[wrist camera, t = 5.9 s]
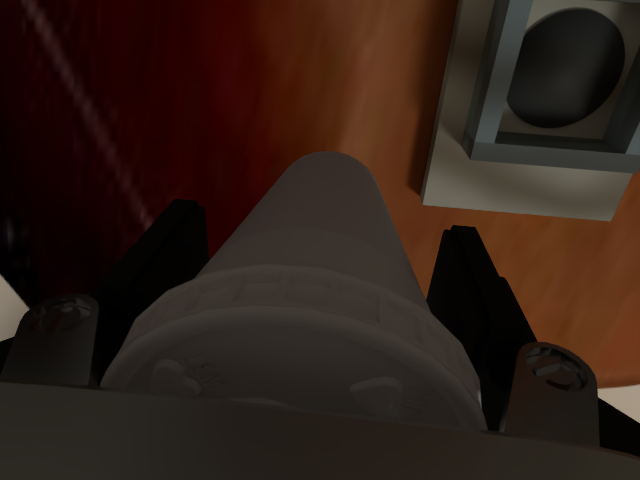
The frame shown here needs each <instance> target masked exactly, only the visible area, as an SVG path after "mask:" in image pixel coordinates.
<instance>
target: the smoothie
mask: <svg viewBox="0 0 640 480" xmlns="http://www.w3.org/2000/svg"><path fill="white" fill-rule="evenodd" d="M99 387H109V388H119V389H128V390H137V391H147V392H156V393H166V394H175V395H185V396H194V397H203V398H213V399H222V400H231V401H240V402H249V403H258V404H267V405H276V406H285V407H294V408H303V409H312V410H320V411H329V412H338V413H347V414H356V415H364V416H373V417H381V418H390V419H398V420H407V421H415V422H424V423H432V424H441V425H449V426H458V427H466V428H475V429H482V430H488V428H487V424H486V420H485V417H484V414H483V411H482V406H481V392H480V380H479V377H478V375H477V373H476V371H475V369H474V367H473V365H472V363H471V361H470V359H469V357H468V355H467V353H466V351H465V349H464V347H463V345H462V343H461V342H460V341H459V340H458V339H457V338H456V337H455V336H454V335H453V334H452V333H451V332H450V331H449V330H448V329H447V328H446V327H445V326H444V325H443V324H442V323H441V322H440V321H439V320H438V319H437V318H436V317H435V316H434V315H433V314H432V313H431V312H430V309H429V306H428V304H427V302H426V299H425V297H424V295H423V293H422V291H421V289H420V286H419V284H418V281H417V279H416V277H415V274H414V272H413V269H412V267H411V265H410V262H409V260H408V257H407V255H406V252H405V250H404V248H403V245H402V243H401V240H400V238H399V235H398V233H397V231H396V228H395V226H394V223H393V221H392V219H391V216H390V214H389V211H388V209H387V206H386V204H385V202H384V199H383V197H382V194H381V192H380V189H379V187H378V185H377V182H376V180H375V178H374V176H373V175H372V173H371V172H370V171H369V170H368V169H367V167H366V166H364V165H363V164H362V163H361V162H359V161H358V160H356V159H355V158H353V157H351V156H349V155H346V154H343V153H339V152H332V151H322V152H315V153H311V154H308V155H306V156H303V157H302V158H300V159H298V160H297V161H295V162H294V163H293V164H292V165H290V166H289V168H288V169H287V170H286V171H285V172H284V173H283V175H282V176H281V177H280V178H279V179H278V180H277V182H276V183H275V184H274V185H273V186H272V188H271V189H270V190H269V191H268V192H267V194H266V195H265V196H264V197H263V198H262V199H261V201H260V202H259V203H258V204H257V205H256V207H255V208H254V209H253V210H252V211H251V212H250V214H249V215H248V216H247V217H246V218H245V220H244V221H243V222H242V223H241V224H240V226H239V227H238V228H237V229H236V230H235V231H234V233H233V234H232V235H231V236H230V237H229V239H228V240H227V241H226V242H225V243H224V245H223V246H222V247H221V248H220V249H219V250H218V252H217V253H216V254H215V255H214V256H213V258H212V259H211V260H210V261H209V262H208V263H207V264H206V265H205V266H204V267H203V268H202V270H201V271H200V272H199V273H198V275H197V276H196V277H195V278H194V279H193V280H190V281H188V282H186V283H184V284H181V285H179V286H177V287H174V288H172V289H170V290H168V291H166V292H165V293H164V294H163V295H162V296H161V297H159V298H158V299H157V300H156V301H155V302H154V303H153V304H151V305H150V306H149V307H148V308H147V309H146V310H145V311H144V312H142V313H141V314H140V315H139V316H138V317H137V318H136V319H135V321H134V323H133V325H132V327H131V329H130V331H129V333H128V335H127V337H126V339H125V341H124V343H123V345H122V347H121V349H120V351H119V352H118V354H117V355H116V357H115V358H114V360H113V361H112V363H111V364H110V366H109V367H108V368H107V370H106V372H105V374H104V376H103V378H102V380H101V383H100V386H99Z"/></svg>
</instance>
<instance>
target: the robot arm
mask: <svg viewBox="0 0 640 480" xmlns="http://www.w3.org/2000/svg"><path fill="white" fill-rule="evenodd" d="M208 262H209V251H208V239H207V228H206V216H205V209H204V207H203V206H199V205H198V202H197V201H194V200H184V199H174V200H173V201H172V202H171V204H170V205H169V206H168V207H167V208H166V209H165V210H164V211H163V213H162V214H161V215H160V216H159V217H158V218H157V219H156V221H155V222H154V223H153V224H152V225H151V226H150V227H149V228H148V230H147V231H146V232H145V233H144V234H143V235H142V236H141V238H140V239H139V240H138V241H137V242H136V243H135V244H134V245H133V246H132V247H131V248H130V249H129V250H128V252H127V253H126V254H125V255H124V256H123V257H122V258H121V259H120V261H119V262H118V263H117V264H116V265H115V266H114V267H113V269H112V270H111V271H110V272H109V273H108V274H107V275H106V276H105V278H104V279H103V280H102V281H101V282H100V283H99V284H98V285H97V287H96V288H95V289H94V290H93V291H92V292H91V293H90V294H89V296H88V295H84V294H64V295H60V296H55V297H52V298H49V299H47V300H44V301H42V302H40V303H39V304H37V305H35V306H33V307H32V308H31V309H30V310H29V311H27V312H26V313H25V314H24V316H23V318H22V319H21V321H20V323H19V326H18V329H17V331H16V334H15V337H12V338H9V339H6V340H3V341H1V342H0V480H640V423H638V422H637V421H635V420H634V419H632V418H630V417H629V416H627V415H626V414H624V413H622V412H621V411H619V410H618V409H616V408H615V407H613V406H611V405H610V404H608V403H606V402H605V401H603V400H602V399H600V398H598V392H597V381H596V377H595V374H594V373H593V371H592V370H591V368H590V367H589V365H587V364H586V363H585V362H584V361H583V360H582V359H581V358H580V357H578V356H577V355H575V354H574V353H572V352H571V351H569V350H567V349H565V348H563V347H560V346H558V345H555V344H551V343H547V342H538V341H537V339H536V337H535V335H534V333H533V332H532V330H531V328H530V326H529V324H528V322H527V320H526V318H525V316H524V314H523V312H522V310H521V308H520V306H519V304H518V302H517V300H516V298H515V296H514V294H513V292H512V290H511V288H510V286H509V284H508V282H507V280H506V279H505V278H504V277H499V275H498V273H497V271H496V269H495V267H494V265H493V262H492V260H491V258H490V256H489V254H488V252H487V250H486V248H485V246H484V244H483V242H482V240H481V238H480V236H479V234H478V231H477V229H476V228H475V227H469V226H458V225H453V226H452V227H451V230H444V232H443V235H442V239H441V243H440V247H439V251H438V255H437V259H436V263H435V267H434V271H433V275H432V279H431V283H430V287H429V291H428V295H427V299H426V302H427V304H428V306H429V309H430V312H431V313H432V314H433V315H434V316H435V317H436V318H437V319H438V320H439V321H440V322H441V323H442V324H443V325H444V326H445V327H446V328H447V329H448V330H449V331H450V332H451V333H452V334H453V335H454V336H455V337H456V338H457V339H458V340H459V341H460V342H461V343H462V345H463V347H464V349H465V351H466V353H467V355H468V357H469V359H470V361H471V363H472V365H473V367H474V369H475V371H476V373H477V375H478V377H479V380H480V392H481V406H482V411H483V414H484V417H485V420H486V424H487V428H488V430H482V429H475V428H466V427H458V426H449V425H441V424H432V423H424V422H415V421H407V420H398V419H390V418H381V417H373V416H364V415H356V414H347V413H338V412H329V411H320V410H312V409H303V408H294V407H285V406H276V405H267V404H258V403H249V402H240V401H231V400H222V399H213V398H203V397H194V396H185V395H175V394H166V393H156V392H147V391H137V390H128V389H119V388H109V387H99V386H100V383H101V380H102V378H103V376H104V374H105V372H106V370H107V368H108V367H109V366H110V364H111V363H112V361H113V360H114V358H115V357H116V355H117V354H118V352H119V351H120V349H121V347H122V345H123V343H124V341H125V339H126V337H127V335H128V333H129V331H130V329H131V327H132V325H133V323H134V321H135V319H136V318H137V317H138V316H139V315H140V314H141V313H142V312H144V311H145V310H146V309H147V308H148V307H149V306H150V305H151V304H153V303H154V302H155V301H156V300H157V299H158V298H159V297H161V296H162V295H163V294H164V293H165V292H166V291H168V290H170V289H172V288H174V287H177V286H179V285H181V284H184V283H186V282H188V281H190V280H193V279H194V278H195V277H196V276H197V275H198V273H199V272H200V271H201V270H202V268H203V267H204V266H205V265H206V264H207V263H208Z"/></svg>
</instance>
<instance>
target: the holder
mask: <svg viewBox="0 0 640 480" xmlns="http://www.w3.org/2000/svg"><path fill="white" fill-rule="evenodd" d="M639 168H640V0H459V1H458V6H457V11H456V16H455V21H454V26H453V31H452V36H451V42H450V47H449V52H448V57H447V62H446V67H445V72H444V77H443V82H442V88H441V93H440V98H439V103H438V108H437V113H436V118H435V123H434V129H433V134H432V139H431V144H430V149H429V154H428V159H427V164H426V169H425V175H424V180H423V185H422V190H421V195H420V198H421V201H422V205H430V206H442V207H453V208H465V209H476V210H488V211H499V212H511V213H522V214H534V215H545V216H557V217H568V218H580V219H591V220H602V221H611V220H612V217H613V215H614V213H615V211H616V209H617V207H618V205H619V202H620V200H621V198H622V196H623V194H624V192H625V189H626V187H627V185H628V183H629V181H630V179H631V177H632V174H637V172H638V170H639Z"/></svg>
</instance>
